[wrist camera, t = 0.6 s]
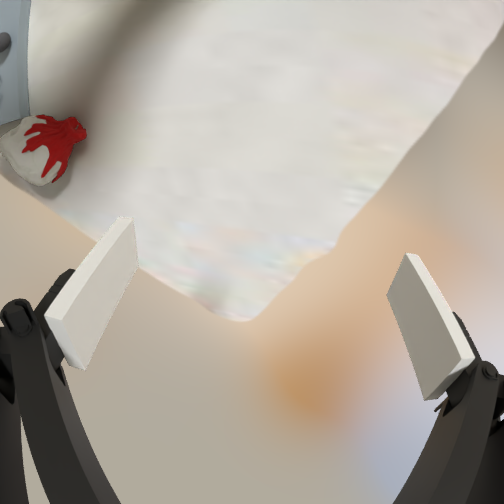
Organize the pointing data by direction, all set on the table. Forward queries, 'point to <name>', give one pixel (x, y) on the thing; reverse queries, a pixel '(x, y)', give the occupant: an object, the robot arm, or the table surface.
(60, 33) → the table surface
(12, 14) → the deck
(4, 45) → the black ball
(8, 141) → the candle
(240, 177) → the table surface
